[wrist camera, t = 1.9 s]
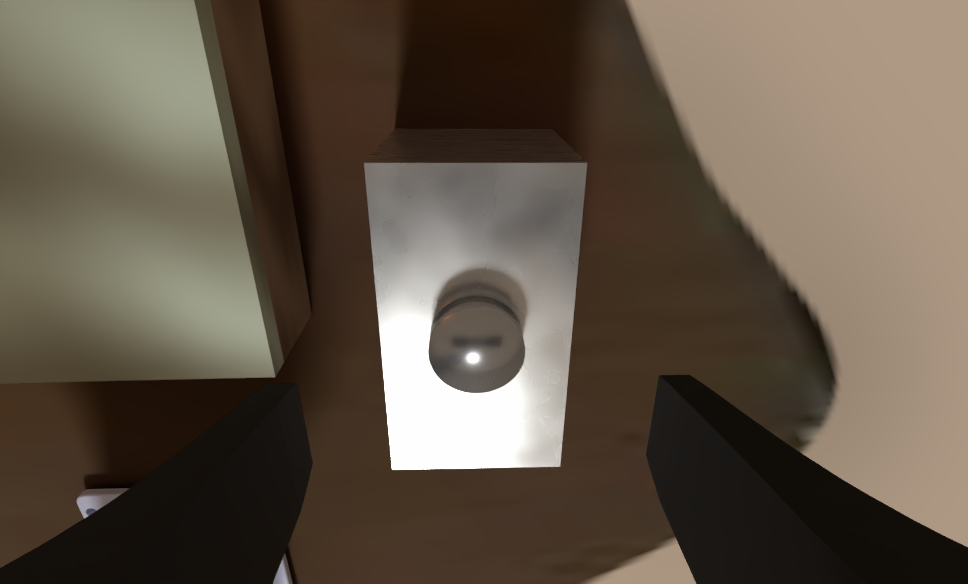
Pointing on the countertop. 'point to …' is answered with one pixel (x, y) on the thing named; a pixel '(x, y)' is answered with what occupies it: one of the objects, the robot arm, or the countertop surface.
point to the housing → (475, 292)
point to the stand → (143, 194)
